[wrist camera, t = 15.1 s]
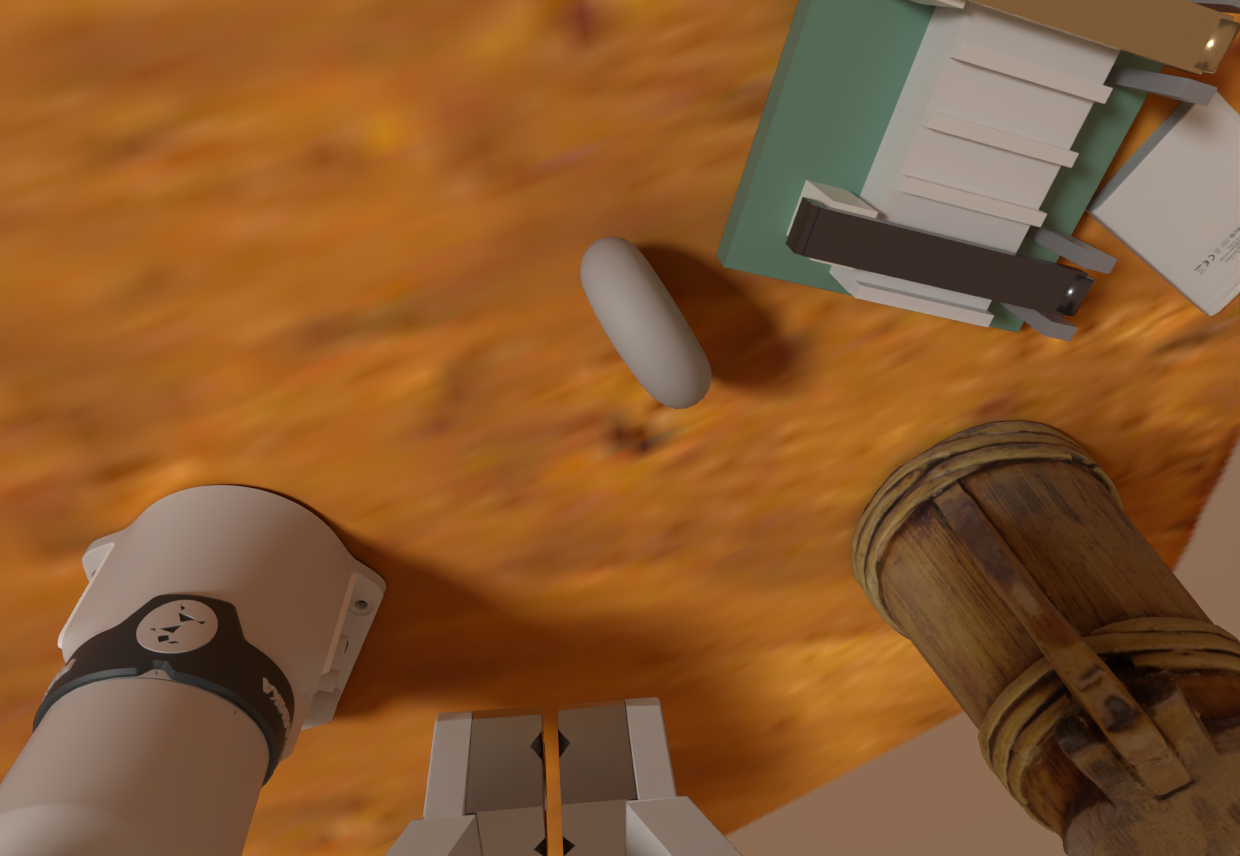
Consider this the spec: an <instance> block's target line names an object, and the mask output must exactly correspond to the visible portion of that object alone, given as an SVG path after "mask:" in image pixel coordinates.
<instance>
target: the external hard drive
mask: <svg viewBox="0 0 1240 856" xmlns="http://www.w3.org/2000/svg"><path fill="white" fill-rule="evenodd" d="M1208 85H1210V84H1208ZM1211 86H1212V85H1211ZM1085 211H1086V212H1087V213H1088V214H1089V215H1091V216H1092V217H1093V218H1094V219H1095V220H1096V221H1097V222H1099V223H1100V224H1101V225H1102V226H1103V227H1104V228H1106V229H1107V230H1108V231H1109V232H1110V233H1111V234H1113V235H1114V236H1115V237H1116V238H1117V239H1118V240H1120V241H1121V242H1122V243H1123V244H1124V245H1125V246H1126V247H1128V248H1129V249H1130V250H1131V251H1132V252H1133V253H1134V254H1136V255H1137V256H1138V257H1139V258H1140V259H1142V260H1143V261H1144V262H1145V263H1146V264H1147V265H1148V266H1149V267H1151V268H1152V269H1153V270H1154V271H1155V272H1156V273H1158V274H1159V275H1160V276H1161V277H1162V278H1163V279H1165V280H1166V281H1167V282H1168V283H1169V284H1170V285H1171V286H1173V287H1174V288H1175V289H1176V290H1177V291H1178V292H1180V293H1181V294H1182V295H1183V296H1184V297H1185V298H1186V299H1188V300H1189V301H1190V302H1191V303H1192V304H1193V305H1194V306H1196V307H1197V308H1198V309H1199V310H1200V311H1201V312H1203V313H1205V314H1207V315H1209V316H1213V315H1215V314H1216V313H1218V312H1219V311H1221V310H1222V309H1223V308H1224V307H1225V306H1226V305H1227V304H1228V303H1229V302H1230V301H1231V300H1232V299H1233V298H1234V297H1235V296H1236V295H1237V294H1239V293H1240V115H1239V114H1238V113H1237V112H1236V111H1235V110H1234V109H1233V108H1232V107H1231V106H1230V105H1229V104H1228V103H1227V101H1226V100H1225V99H1224V98H1223V97H1222V96H1221V95H1220V94H1219V93H1218V92H1217V91H1216V92H1215V94H1214V96H1213V97H1212V99H1211V101H1210V102H1209V104H1208V106H1204V105H1200V104H1195V103H1190V102H1185V101H1182V102H1181V103H1180V104H1179V105H1178V106H1177V107H1176V108H1175V110H1174V111H1173V112H1172V113H1171V114H1170V115H1169V116H1168V117H1167V118H1166V119H1165V120H1164V122H1163V123H1162V124H1161V125H1160V126H1159V127H1158V128H1157V129H1156V130H1155V131H1154V132H1153V134H1152V135H1151V136H1150V137H1149V138H1148V139H1147V140H1146V141H1145V142H1144V143H1143V144H1142V146H1141V147H1140V148H1139V149H1138V150H1137V151H1136V152H1135V153H1134V154H1133V155H1132V156H1131V158H1130V159H1129V160H1128V161H1127V162H1126V163H1125V164H1124V165H1123V166H1122V167H1121V168H1120V170H1119V171H1118V172H1117V173H1116V174H1115V175H1114V176H1113V177H1112V178H1111V179H1110V180H1109V182H1108V183H1107V184H1106V185H1105V186H1104V187H1103V188H1102V189H1101V190H1100V191H1099V192H1098V193H1097V195H1096V196H1095V197H1094V198H1093V199H1092V200H1091V201H1090V202H1089V203H1088V205H1087V207H1086V209H1085Z"/></svg>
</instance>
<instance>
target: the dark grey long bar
mask: <svg viewBox="0 0 1240 856" xmlns="http://www.w3.org/2000/svg"><path fill="white" fill-rule="evenodd" d="M785 244H786V245H787V246H788V247H789V248H790V249H791V250H792V251H793V252H794V254H798V255H802V256H804V257H809V258H813V259H817V260H821V261H826V262H830V263H834V264H839V265H843V266H847V267H852V268H856V269H860V270H865V271H869V272H873V273H877V274H882V275H886V276H890V277H895V278H899V279H903V280H908V281H912V282H916V283H920V284H925V285H929V286H933V287H938V288H942V289H946V290H951V291H955V292H959V293H964V294H968V295H972V296H976V297H981V298H985V299H989V300H994V301H998V302H1002V303H1007V304H1011V305H1015V306H1020V307H1024V308H1028V309H1032V310H1037V311H1041V312H1045V313H1050V314H1054V315H1058V316H1063V317H1064V315H1069V316H1075V314H1076V313H1077V311H1078V309H1079V307H1080V306H1081V304H1082V302H1083V300H1084V299H1085V297H1086V295H1087V293H1088V292H1089V290H1090V288H1091V287H1092V285H1093V283H1094V281H1095V279H1094V278H1092V277H1090V276H1088V274H1087V273H1085V272H1084V271H1082V270H1080V269H1078V268H1074V267H1070V266H1066V265H1062V264H1058V263H1054V262H1050V261H1046V260H1042V259H1038V258H1034V257H1030V256H1026V255H1022V254H1018V253H1014V252H1010V251H1006V250H1002V249H998V248H994V247H989V246H985V245H981V244H977V243H973V242H969V241H965V240H961V239H957V238H953V237H949V236H945V235H941V234H937V233H933V232H929V231H925V230H921V229H917V228H913V227H909V226H905V225H901V224H897V223H893V222H889V221H885V220H881V219H877V218H873V217H869V216H865V215H861V214H857V213H853V212H849V211H845V210H841V209H837V208H833V207H829V206H825V205H823V204H821V203H820V202H819V201H818V200H814V199H810V198H806V197H802V200H801V202H800V205H799V208H798V211H797V213H796V216H795V219H794V222H793V224H792V227H791V230H790V233H789V235H788V238H787V241H786V243H785Z"/></svg>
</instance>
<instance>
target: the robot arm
mask: <svg viewBox="0 0 1240 856" xmlns="http://www.w3.org/2000/svg"><path fill="white" fill-rule="evenodd" d="M82 563H83V567H84V570H85V572H86V575H87V577H88V580H89V584H88V586H87V588H86V589H85V591H84V593H83V594H82V596H81V598H80V600H79V601H78V603H77V605H76V607H75V608H74V610H73V612H72V614H71V615H70V617H69V619H68V621H67V622H66V624H65V626H64V628H63V630H62V631H61V633H60V636H59V639H58V647H60V648H61V649H62V653H63V657H64V660H65V662H66V665H65V666H64V667H63V668H62V669H61V671H59V672H58V673H57V675H56V676H55V678H54V679H53V681H52V683H51V684H50V686H49V687H48V690H47V691H46V693H45V696H44V698H43V702H42V704H41V705H40V707H39V709H38V711H37V713H36V715H35V719H34V722H33V734H32V736H31V738H30V739H29V741H28V742H27V744H26V745H25V747H24V748H23V750H22V751H21V753H20V755H19V756H18V758H17V759H16V761H15V762H14V764H13V765H12V767H11V769H10V770H9V772H8V773H7V775H6V776H5V778H4V779H3V781H2V782H1V784H0V856H242V852H243V849H244V845H245V841H246V838H247V834H248V831H249V827H250V824H251V820H252V817H253V814H254V810H255V807H256V804H257V800H258V797H259V794H260V791H261V788H262V787H263V786H264V785H265V784H266V783H267V781H268V780H269V779H270V777H271V776H272V774H273V772H274V770H275V769H276V767H277V766H278V764H279V762H281V761H283V760H285V759H286V758H288V757H289V756H290V755H291V754H292V752H293V749H294V747H295V744H296V741H297V739H298V736H299V733H300V731H301V730H302V729H308V728H312V727H315V726H318V725H322V724H324V723H328V722H332V719H333V716H334V713H335V710H336V707H337V704H338V702H339V699H340V697H341V695H342V692H343V690H344V688H345V685H346V683H347V681H348V678H349V676H350V674H351V671H352V669H353V667H354V664H355V662H356V660H357V657H358V655H359V653H360V650H361V648H362V646H363V643H364V641H365V639H366V636H367V634H368V631H369V629H370V627H371V624H372V622H373V620H374V617H375V615H376V613H377V610H378V608H379V606H380V603H381V601H382V599H383V596H384V594H385V591H386V583H385V581H384V580H383V578H382V577H381V576H379V575H378V574H377V573H376V572H374V571H373V570H372V569H370V568H368V567H367V566H365V565H364V564H362V563H361V562H359V561H357V560H356V559H355V558H354V557H353V556H352V555H351V554H350V553H349V552H348V551H347V549H346V548H345V546H344V545H343V544H342V542H341V541H340V539H339V538H338V537H337V535H336V534H335V533H334V532H333V531H332V530H331V529H330V527H329V526H327V525H326V524H325V523H324V522H323V521H322V520H321V519H320V518H318V517H317V516H316V515H314V514H313V513H312V512H310V511H309V510H307V509H305V508H304V507H302V506H300V505H298V504H297V503H295V502H293V501H290V500H288V499H286V498H284V497H281V496H279V495H276V494H273V493H270V492H266V491H263V490H258V489H254V488H248V487H242V486H231V485H212V486H201V487H195V488H190V489H186V490H182V491H179V492H176V493H173V494H171V495H168V496H166V497H164V498H162V499H160V500H159V501H157V502H155V503H154V504H152V505H151V506H150V507H148V508H147V509H146V510H145V511H144V512H143V513H142V514H141V515H140V516H139V517H138V518H137V519H136V520H135V521H134V522H133V523H132V524H131V525H130V526H129V527H127V528H126V529H124V530H122V531H119V532H116V533H113V534H110V535H108V536H105V537H102V538H100V539H98V540H96V541H94V542H93V543H91V544H90V545H89V547H88V548H87V550H86V552H85V554H84V556H83V558H82ZM360 600H362V601H365V602H360ZM557 708H558V740H559V767H560V790H561V813H562V836H563V853H564V856H742V855H741V854H740V853H739V852H738V851H737V850H736V848H735V847H734V846H733V845H732V844H731V843H730V842H729V841H728V840H727V838H726V837H725V836H724V835H723V834H722V833H721V832H720V831H719V830H718V829H717V828H716V826H715V825H714V824H713V823H712V822H711V821H710V820H709V819H708V818H707V817H706V816H705V814H704V813H703V812H702V811H701V810H700V809H699V808H698V807H697V806H696V805H695V804H694V802H693V801H692V800H691V799H690V798H689V797H688V796H677V791H676V786H675V780H674V775H673V769H672V763H671V758H670V752H669V747H668V741H667V735H666V730H665V724H664V719H663V713H662V707H661V702H660V701H659V699H658V697H648V698H635V699H625V700H624V701H623V699H614V700H603V701H592V702H581V703H570V704H559V705H557ZM546 811H547V782H546V758H545V743H544V732H543V715H542V707H536V708H517V709H497V710H477V711H463V712H448V713H438V716H437V719H436V722H435V726H434V734H433V742H432V750H431V758H430V766H429V773H428V781H427V789H426V797H425V805H424V813H423V819H418V820H412V821H411V822H410V824H409V825H408V826H407V827H406V829H405V830H404V831H403V833H402V834H401V835H400V836H399V838H398V839H397V840H396V842H395V843H394V844H393V846H392V847H391V848H390V849H389V851H388V852H387V853H386V855H385V856H548V833H547V816H546Z"/></svg>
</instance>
